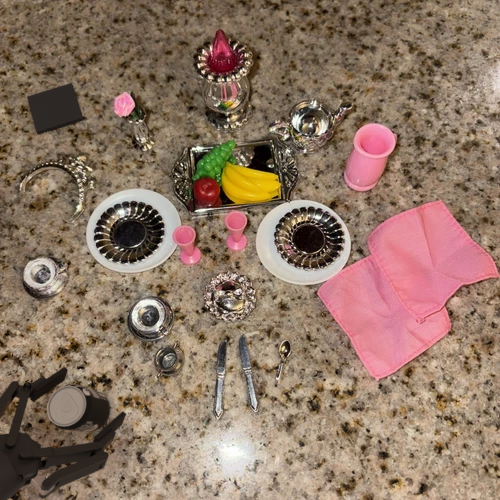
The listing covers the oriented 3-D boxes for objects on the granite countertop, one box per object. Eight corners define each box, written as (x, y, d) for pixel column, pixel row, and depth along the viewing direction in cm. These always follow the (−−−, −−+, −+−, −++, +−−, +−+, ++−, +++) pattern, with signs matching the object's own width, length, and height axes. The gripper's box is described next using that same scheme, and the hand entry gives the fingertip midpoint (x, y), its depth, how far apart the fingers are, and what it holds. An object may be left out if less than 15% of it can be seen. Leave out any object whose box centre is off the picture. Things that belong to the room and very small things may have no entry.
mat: (28, 99, 108) (26, 96, 107) (73, 85, 109) (71, 82, 108) (38, 134, 105) (36, 132, 104) (83, 120, 106) (82, 117, 105)
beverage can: (78, 438, 82) (49, 436, 71) (68, 400, 84) (39, 393, 73) (115, 422, 83) (93, 418, 71) (105, 385, 85) (82, 376, 74)
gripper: (-95, 450, 65) (34, 369, 84) (37, 569, 60) (144, 454, 79) (-91, 413, 62) (43, 337, 81) (50, 535, 56) (158, 424, 75)
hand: (93, 395), depth 80 cm, fingers open, 12 cm apart
